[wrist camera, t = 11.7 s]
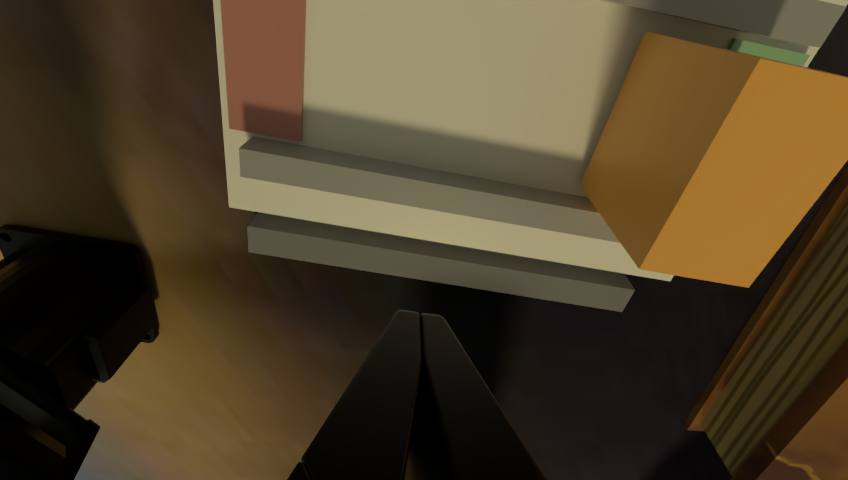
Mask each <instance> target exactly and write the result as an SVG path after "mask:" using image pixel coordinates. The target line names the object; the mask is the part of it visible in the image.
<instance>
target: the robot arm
mask: <svg viewBox="0 0 848 480" xmlns="http://www.w3.org/2000/svg"><path fill="white" fill-rule="evenodd" d="M0 250H1V252H2V254H3V256H4V259H2V260H1V261H0V480H74V478H75V476H76V474H77V472H78V470H79V468H80V467H81V465H82V463H83V461H84V459H85V457H86V455H87V453H88V451H89V449H90V447H91V445H92V443H93V441H94V439H95V437H96V435H97V433H98V431H99V429H100V426H99V425H98V424H96V423H95V422H93V421H92V420H91V419H90V420H86V419H85V418H83V417H82V416H81V415H79V414H78V413H76V412H75V411H73V410H74V409H75V408H76V407H77V406H78V404H79V403H80V402H81V401H82V400H83V398H84V397H85V396H86V395H87V394H88V393H89V391H90V390H91V389H92V388H93V387H94V385H95V384H96V383H97V382H102V383H104V382H106V381H108V380H109V379H110V378H111V377H112V376H113V375H114V374H115V372H116V371H117V370H118V369H119V368H120V366H121V365H122V364H123V363H124V361H125V360H126V359H127V358H128V356H129V355H130V354H131V353H132V352H133V350H134V349H135V348H136V347H137V345H138V344H139V343H140V342H146V343H151V342H153V341H154V340H155V339H156V338H157V336H158V335H159V330H158V326H157V318H156V313H155V309H154V304H153V300H152V295H151V291H150V287H149V285H148V280H147V276H146V271H145V267H144V262H143V258H142V253H141V251H140V250H139V248H138V247H136V246H135V245H133V244H129V243H123V242H117V241H111V240H104V239H98V238H92V237H85V236H79V235H73V234H66V233H60V232H54V231H47V230H41V229H35V228H29V227H22V226H16V225H10V224H5V225H3V226H1V227H0ZM127 253H128V254H127ZM129 254H130V255H129ZM405 474H406V480H547V479H546V478H545V476H544V475H543V473H542V472H541V470H540V468H539V467H538V465H537V464H536V462H535V460H534V459H533V457H532V456H531V454H530V453H529V451H528V449H527V448H526V446H525V445H524V443H523V442H522V440H521V438H520V437H519V435H518V434H517V432H516V431H515V429H514V427H513V426H512V424H511V423H510V421H509V419H508V418H507V416H506V415H505V413H504V412H503V410H502V408H501V407H500V405H499V404H498V402H497V401H496V399H495V397H494V396H493V394H492V393H491V391H490V390H489V388H488V386H487V385H486V383H485V382H484V380H483V379H482V377H481V375H480V374H479V372H478V371H477V369H476V367H475V366H474V364H473V363H472V361H471V360H470V358H469V356H468V355H467V353H466V352H465V350H464V349H463V347H462V345H461V344H460V342H459V341H458V339H457V338H456V336H455V334H454V333H453V331H452V330H451V328H450V327H449V325H448V323H447V322H446V320H445V319H444V317H442V316H441V315H435V314H428V313H422V314H421V315H419V313H418V312H414V311H406V310H398V311H397V312H396V313H395V315H394V316H393V318H392V319H391V321H390V322H389V324H388V325H387V327H386V329H385V330H384V332H383V333H382V335H381V336H380V338H379V339H378V341H377V342H376V344H375V345H374V347H373V349H372V350H371V352H370V353H369V355H368V356H367V358H366V359H365V361H364V362H363V364H362V366H361V367H360V369H359V370H358V372H357V373H356V375H355V376H354V378H353V379H352V381H351V383H350V384H349V386H348V387H347V389H346V390H345V392H344V393H343V395H342V396H341V398H340V399H339V401H338V403H337V404H336V406H335V407H334V409H333V410H332V412H331V413H330V415H329V416H328V418H327V420H326V421H325V423H324V424H323V426H322V427H321V429H320V430H319V432H318V433H317V435H316V436H315V438H314V440H313V441H312V443H311V444H310V446H309V447H308V449H307V450H306V452H305V453H304V455H303V457H302V459H301V462H299V463H298V464H297V465H296V467H295V468H294V470H293V471H292V473H291V474H290V476H289V478H288V479H287V480H404V479H405Z"/></svg>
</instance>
